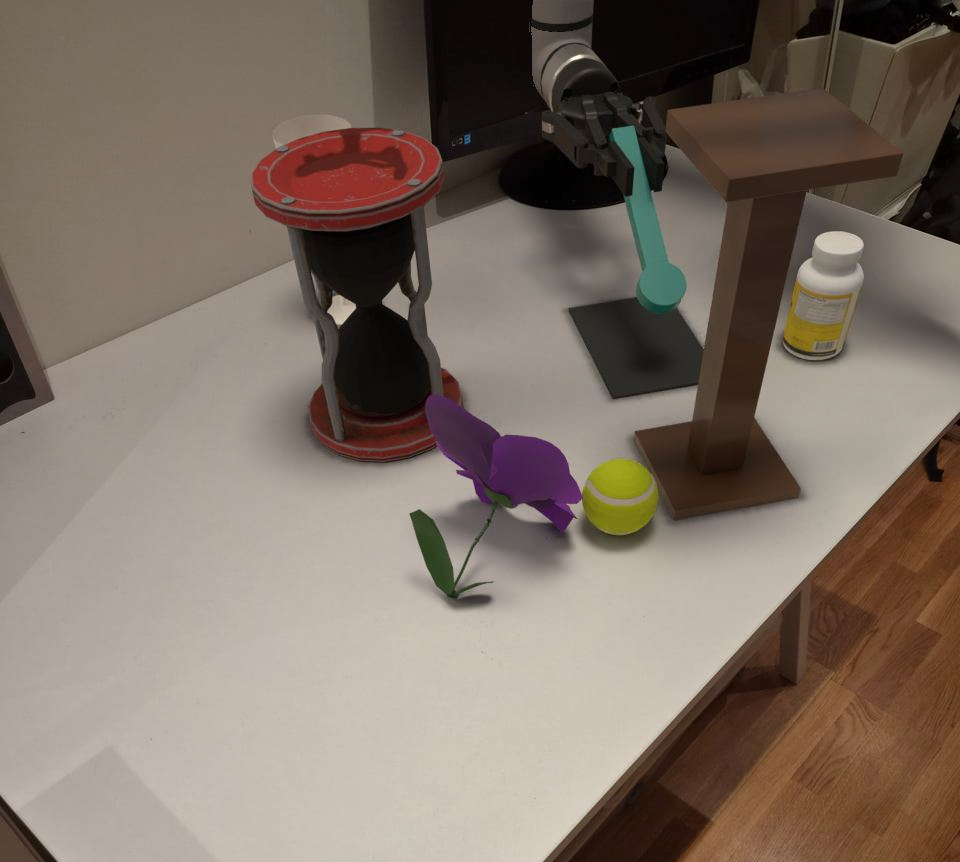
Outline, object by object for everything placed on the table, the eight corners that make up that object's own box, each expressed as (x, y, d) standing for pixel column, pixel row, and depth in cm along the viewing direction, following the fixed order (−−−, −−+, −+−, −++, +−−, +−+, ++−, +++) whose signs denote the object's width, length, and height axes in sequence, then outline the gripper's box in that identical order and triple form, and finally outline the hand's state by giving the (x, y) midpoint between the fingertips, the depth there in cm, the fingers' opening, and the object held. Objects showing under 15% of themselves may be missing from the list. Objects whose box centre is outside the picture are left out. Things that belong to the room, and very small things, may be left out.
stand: (633, 440, 86) (667, 109, 63) (747, 420, 87) (822, 87, 64) (673, 521, 79) (729, 179, 56) (798, 498, 80) (904, 152, 57)
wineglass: (352, 283, 109) (321, 108, 93) (393, 310, 104) (367, 130, 89) (298, 308, 106) (257, 130, 90) (338, 336, 101) (301, 155, 86)
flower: (542, 648, 77) (607, 515, 78) (494, 601, 63) (574, 440, 64) (408, 588, 82) (471, 465, 84) (337, 533, 69) (414, 386, 70)
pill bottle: (819, 324, 97) (847, 220, 88) (855, 353, 94) (888, 248, 84) (769, 338, 96) (792, 235, 87) (803, 369, 92) (831, 264, 83)
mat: (568, 311, 102) (568, 307, 102) (666, 295, 103) (666, 292, 103) (612, 400, 91) (613, 396, 90) (722, 381, 92) (722, 378, 91)
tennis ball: (665, 542, 77) (674, 484, 72) (593, 557, 77) (597, 500, 71) (639, 494, 82) (646, 436, 76) (571, 508, 81) (573, 450, 76)
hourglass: (493, 396, 92) (480, 145, 73) (401, 483, 84) (359, 227, 65) (375, 354, 99) (334, 113, 79) (279, 431, 91) (208, 183, 71)
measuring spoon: (598, 139, 91) (601, 128, 89) (642, 133, 91) (645, 122, 90) (641, 317, 88) (645, 308, 86) (687, 310, 88) (691, 301, 87)
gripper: (642, 120, 105) (712, 207, 90) (517, 137, 103) (568, 228, 89) (648, 48, 99) (725, 128, 84) (516, 65, 97) (570, 150, 83)
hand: (644, 179), depth 86 cm, fingers closed on measuring spoon, 2 cm apart
